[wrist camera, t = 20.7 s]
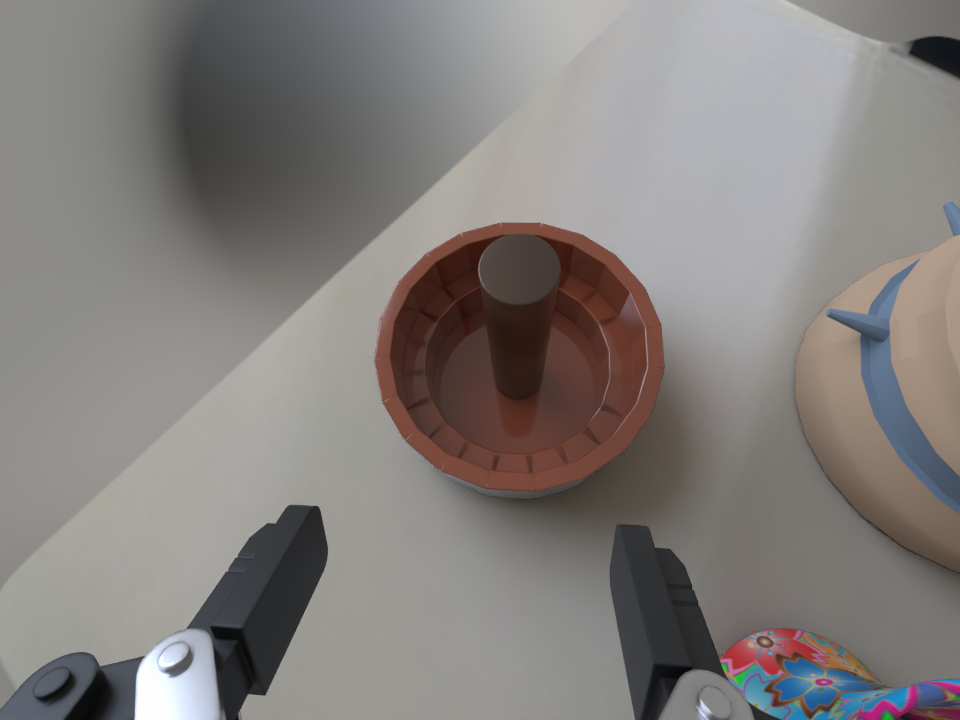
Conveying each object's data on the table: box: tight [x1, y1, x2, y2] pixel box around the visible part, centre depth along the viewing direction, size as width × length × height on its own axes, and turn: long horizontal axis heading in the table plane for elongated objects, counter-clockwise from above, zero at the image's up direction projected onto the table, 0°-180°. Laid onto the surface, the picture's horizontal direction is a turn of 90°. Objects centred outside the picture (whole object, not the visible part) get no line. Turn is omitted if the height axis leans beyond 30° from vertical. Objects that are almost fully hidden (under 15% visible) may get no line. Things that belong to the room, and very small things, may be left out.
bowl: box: [374, 223, 665, 499], centre depth 25 cm, size 14×14×6 cm
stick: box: [478, 233, 561, 400], centre depth 21 cm, size 3×3×12 cm
